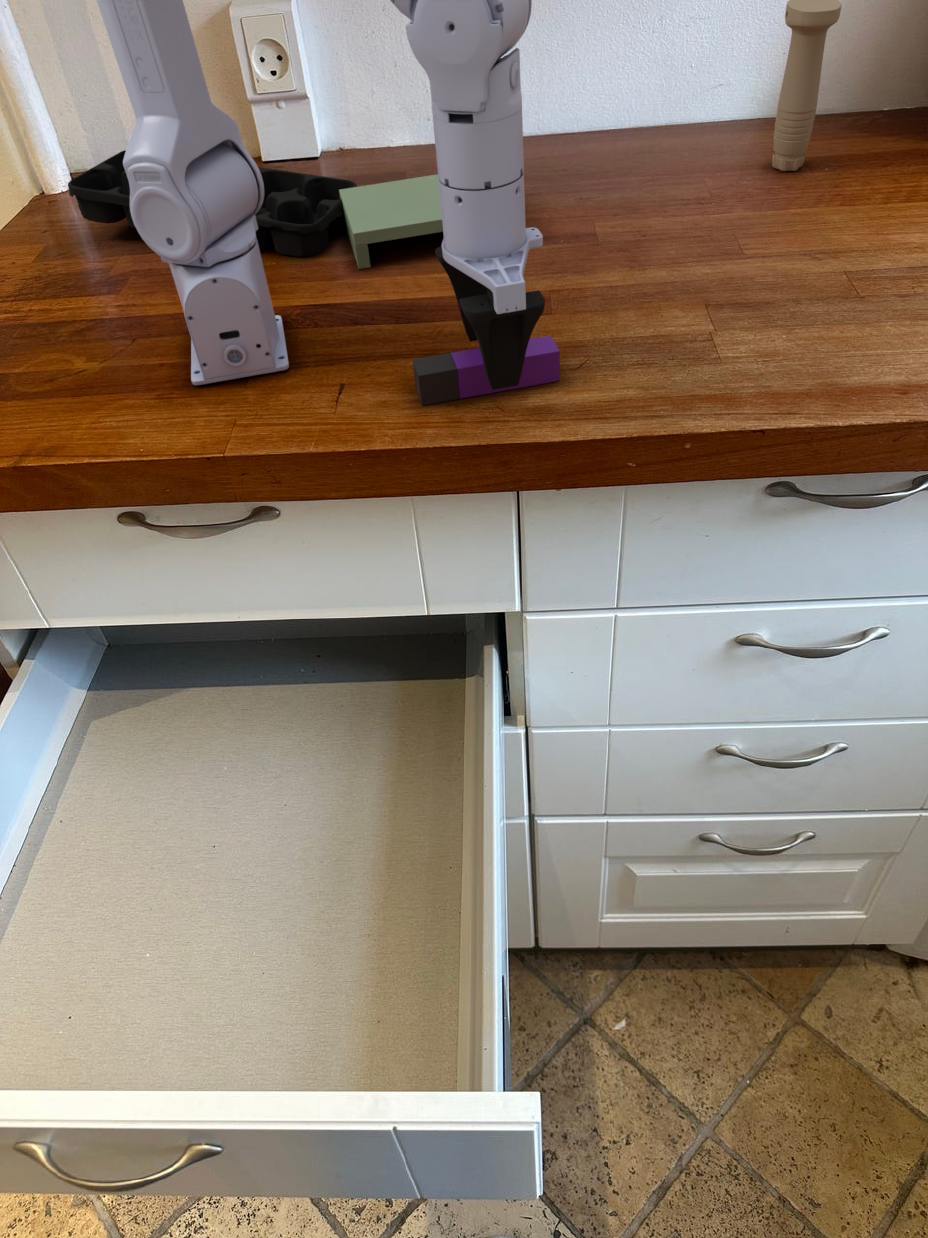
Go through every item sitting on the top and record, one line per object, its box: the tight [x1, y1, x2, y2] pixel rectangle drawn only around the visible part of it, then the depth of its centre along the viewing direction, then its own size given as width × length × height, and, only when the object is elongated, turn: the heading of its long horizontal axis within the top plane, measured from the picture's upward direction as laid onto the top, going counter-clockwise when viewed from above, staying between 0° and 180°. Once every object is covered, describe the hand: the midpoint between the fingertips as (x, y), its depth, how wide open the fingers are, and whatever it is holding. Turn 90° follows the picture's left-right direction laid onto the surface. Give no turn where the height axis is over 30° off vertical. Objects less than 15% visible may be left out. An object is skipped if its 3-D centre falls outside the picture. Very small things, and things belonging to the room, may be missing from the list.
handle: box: [771, 0, 843, 172], centre depth 94 cm, size 5×6×15 cm
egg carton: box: [67, 149, 358, 258], centre depth 97 cm, size 18×30×4 cm, turn 84°
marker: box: [412, 335, 561, 407], centre depth 71 cm, size 3×11×3 cm, turn 102°
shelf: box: [339, 173, 443, 270], centre depth 92 cm, size 12×16×4 cm
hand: (492, 360), depth 70 cm, fingers open, 7 cm apart
